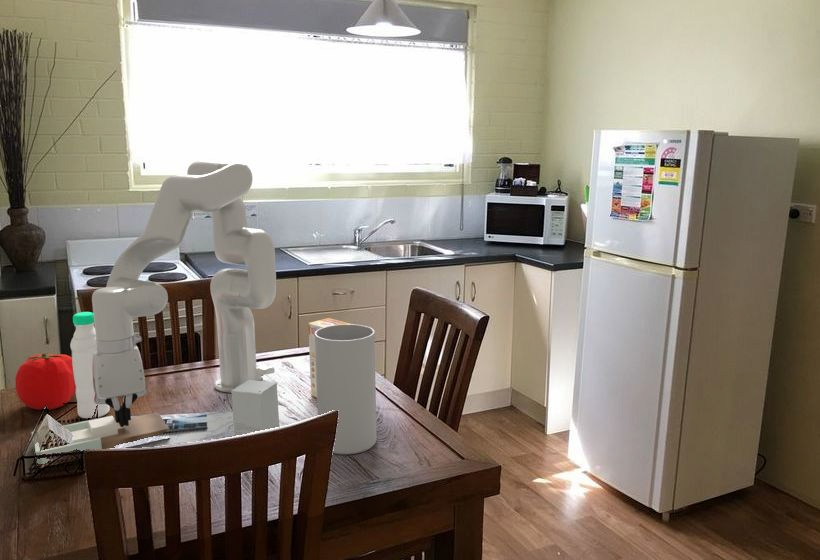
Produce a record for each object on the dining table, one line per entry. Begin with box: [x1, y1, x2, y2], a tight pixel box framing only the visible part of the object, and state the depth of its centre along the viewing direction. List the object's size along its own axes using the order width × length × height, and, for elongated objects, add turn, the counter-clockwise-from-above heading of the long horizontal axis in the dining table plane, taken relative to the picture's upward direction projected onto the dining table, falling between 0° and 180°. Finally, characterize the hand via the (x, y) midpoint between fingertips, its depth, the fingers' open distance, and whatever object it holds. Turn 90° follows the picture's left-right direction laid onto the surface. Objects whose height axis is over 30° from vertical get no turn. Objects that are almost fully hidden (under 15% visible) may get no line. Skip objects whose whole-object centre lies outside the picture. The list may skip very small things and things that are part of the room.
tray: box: [31, 419, 102, 464], centre depth 148 cm, size 12×12×4 cm
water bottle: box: [69, 311, 111, 420], centre depth 166 cm, size 7×7×25 cm
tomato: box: [14, 352, 76, 411], centre depth 173 cm, size 16×14×14 cm
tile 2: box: [87, 415, 118, 439], centre depth 152 cm, size 5×5×2 cm
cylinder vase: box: [315, 323, 378, 455], centre depth 149 cm, size 12×12×25 cm
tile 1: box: [67, 428, 93, 445], centre depth 150 cm, size 5×5×2 cm
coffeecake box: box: [307, 317, 350, 398], centre depth 175 cm, size 15×7×20 cm, turn 47°
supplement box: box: [231, 380, 280, 437], centre depth 152 cm, size 7×7×13 cm
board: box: [101, 412, 170, 449], centre depth 155 cm, size 14×11×2 cm
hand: (123, 424), depth 154 cm, fingers closed
